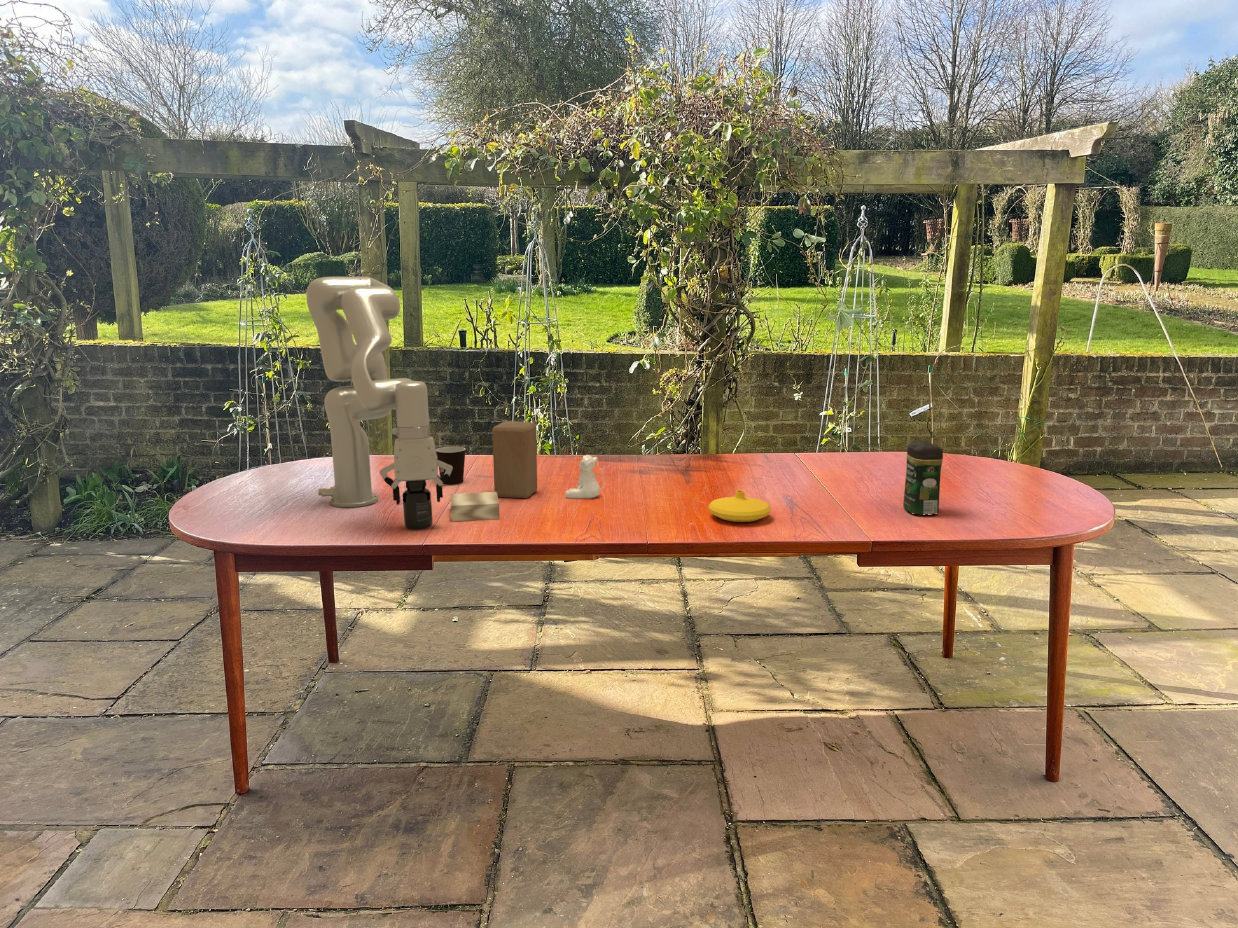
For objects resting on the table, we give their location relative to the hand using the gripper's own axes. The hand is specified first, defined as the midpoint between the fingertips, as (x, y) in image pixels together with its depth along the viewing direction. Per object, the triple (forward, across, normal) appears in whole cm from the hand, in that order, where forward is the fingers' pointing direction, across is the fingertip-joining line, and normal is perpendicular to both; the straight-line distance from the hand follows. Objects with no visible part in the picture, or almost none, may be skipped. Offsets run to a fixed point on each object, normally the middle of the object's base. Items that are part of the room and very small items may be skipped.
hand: (418, 501), depth 209 cm
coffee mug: (+6, +8, +47) cm, 48 cm away
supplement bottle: (+7, 0, +1) cm, 7 cm away
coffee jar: (+9, +128, -11) cm, 128 cm away
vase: (+8, +80, -7) cm, 80 cm away
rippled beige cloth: (+6, +14, +10) cm, 18 cm away
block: (+6, +26, +28) cm, 38 cm away
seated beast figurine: (+7, +45, +22) cm, 50 cm away
